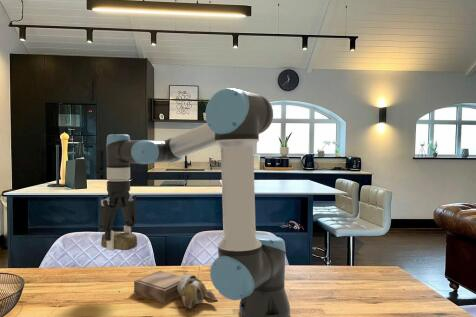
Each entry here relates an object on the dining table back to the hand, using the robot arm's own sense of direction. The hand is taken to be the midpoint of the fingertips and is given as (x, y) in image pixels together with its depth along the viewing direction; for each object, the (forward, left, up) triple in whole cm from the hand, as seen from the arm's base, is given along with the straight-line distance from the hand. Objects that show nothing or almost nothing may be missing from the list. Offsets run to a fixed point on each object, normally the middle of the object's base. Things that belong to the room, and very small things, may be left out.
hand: (119, 247), depth 122 cm
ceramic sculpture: (-27, -7, -15) cm, 32 cm away
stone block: (0, 0, -1) cm, 1 cm away
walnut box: (-13, -7, -15) cm, 21 cm away
